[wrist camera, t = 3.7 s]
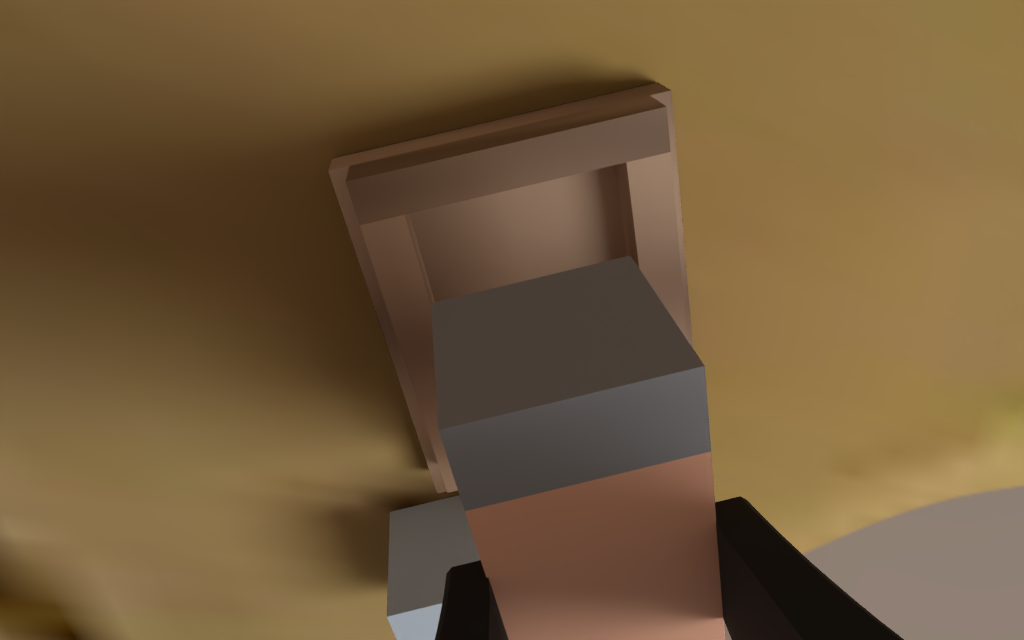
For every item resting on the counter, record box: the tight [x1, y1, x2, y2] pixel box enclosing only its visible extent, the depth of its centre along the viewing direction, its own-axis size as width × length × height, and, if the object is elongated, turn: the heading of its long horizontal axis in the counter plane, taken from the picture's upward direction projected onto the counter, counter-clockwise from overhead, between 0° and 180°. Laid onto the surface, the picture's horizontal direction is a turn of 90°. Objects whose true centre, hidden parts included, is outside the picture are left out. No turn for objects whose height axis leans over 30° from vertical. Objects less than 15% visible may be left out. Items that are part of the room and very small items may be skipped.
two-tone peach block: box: [431, 256, 725, 640], centre depth 13 cm, size 8×4×4 cm, turn 12°
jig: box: [328, 82, 693, 494], centre depth 18 cm, size 10×8×2 cm
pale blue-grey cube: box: [387, 495, 480, 640], centre depth 22 cm, size 4×4×4 cm
